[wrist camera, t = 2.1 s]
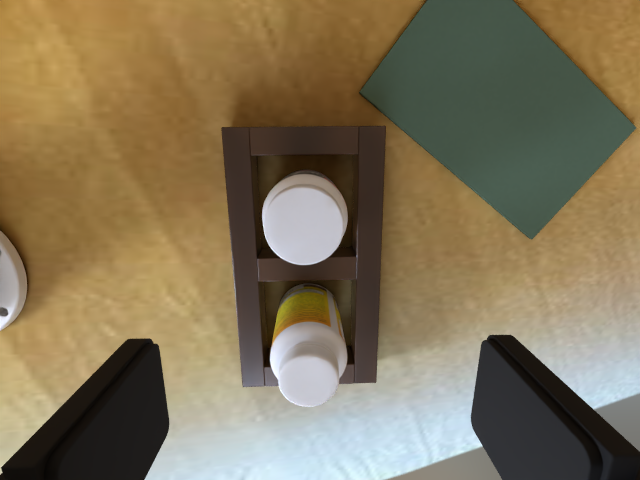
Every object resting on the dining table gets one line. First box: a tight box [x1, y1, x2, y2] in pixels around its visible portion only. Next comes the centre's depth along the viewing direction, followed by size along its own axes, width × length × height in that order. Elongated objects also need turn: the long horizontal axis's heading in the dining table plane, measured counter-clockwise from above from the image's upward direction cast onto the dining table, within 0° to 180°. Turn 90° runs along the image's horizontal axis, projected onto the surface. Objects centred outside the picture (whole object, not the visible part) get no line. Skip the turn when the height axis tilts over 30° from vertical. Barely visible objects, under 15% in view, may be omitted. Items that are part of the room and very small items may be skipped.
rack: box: [221, 126, 386, 387], centre depth 28 cm, size 12×22×3 cm, turn 1°
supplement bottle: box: [270, 283, 347, 407], centre depth 26 cm, size 6×6×10 cm
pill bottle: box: [262, 169, 348, 265], centre depth 24 cm, size 6×6×10 cm
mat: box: [359, 0, 636, 239], centre depth 27 cm, size 20×12×1 cm, turn 53°
